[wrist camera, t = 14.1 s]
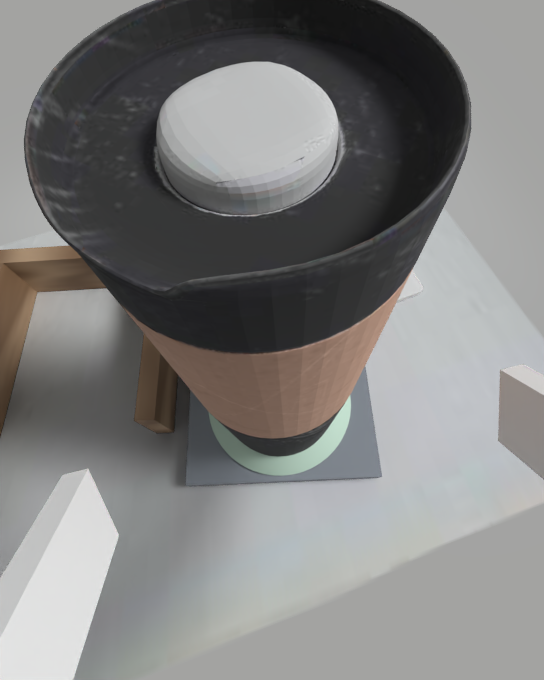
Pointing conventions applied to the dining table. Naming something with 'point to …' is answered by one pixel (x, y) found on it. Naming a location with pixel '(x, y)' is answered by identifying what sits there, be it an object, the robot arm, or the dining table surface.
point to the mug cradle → (57, 275)
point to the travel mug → (253, 189)
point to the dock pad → (309, 465)
